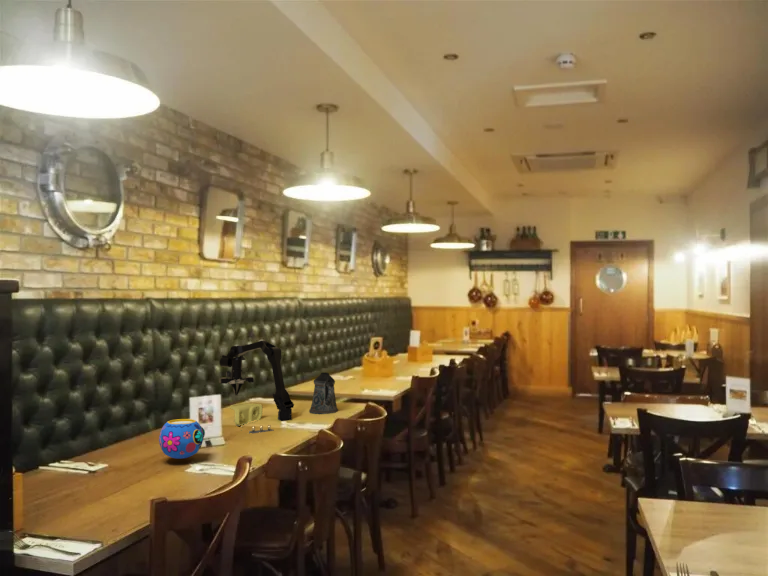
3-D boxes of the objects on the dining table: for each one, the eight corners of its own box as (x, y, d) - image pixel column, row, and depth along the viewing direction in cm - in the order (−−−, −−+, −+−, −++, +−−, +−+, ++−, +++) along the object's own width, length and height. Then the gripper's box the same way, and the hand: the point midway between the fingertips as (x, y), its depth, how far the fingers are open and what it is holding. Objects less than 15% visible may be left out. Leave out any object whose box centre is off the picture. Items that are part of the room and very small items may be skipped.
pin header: (272, 431, 326) (272, 424, 326) (273, 432, 323) (273, 425, 324) (248, 433, 320) (248, 426, 320) (250, 434, 318) (250, 427, 318)
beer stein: (322, 413, 383) (323, 370, 383) (347, 416, 371) (348, 373, 372) (303, 416, 369) (304, 372, 370) (329, 420, 358) (329, 375, 359)
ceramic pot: (200, 462, 261) (201, 424, 261) (154, 463, 258) (155, 425, 258) (205, 452, 278) (206, 417, 278) (162, 453, 275) (163, 417, 275)
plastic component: (238, 426, 337) (239, 407, 338) (227, 425, 341) (228, 406, 341) (262, 420, 355) (262, 402, 355) (251, 419, 358) (251, 401, 359)
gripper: (249, 366, 378) (248, 392, 377) (216, 367, 369) (216, 394, 369) (254, 367, 368) (253, 395, 368) (221, 368, 359) (220, 397, 359)
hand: (236, 395), depth 366 cm, fingers closed
